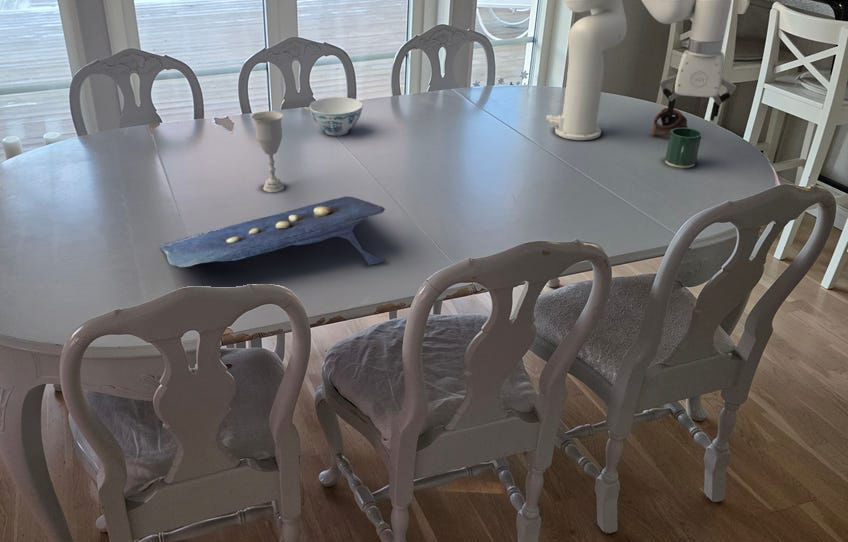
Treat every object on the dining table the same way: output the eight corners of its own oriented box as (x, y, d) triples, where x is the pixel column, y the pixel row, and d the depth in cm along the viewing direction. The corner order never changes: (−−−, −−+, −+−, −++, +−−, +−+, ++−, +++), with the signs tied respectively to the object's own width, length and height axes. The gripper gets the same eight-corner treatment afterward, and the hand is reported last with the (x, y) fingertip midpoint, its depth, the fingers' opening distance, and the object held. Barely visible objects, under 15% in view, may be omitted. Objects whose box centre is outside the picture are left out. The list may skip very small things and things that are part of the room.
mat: (187, 319, 146) (171, 260, 143) (167, 288, 171) (153, 237, 167) (403, 256, 160) (393, 201, 156) (355, 235, 184) (346, 187, 181)
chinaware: (372, 128, 227) (372, 102, 223) (344, 144, 216) (343, 117, 212) (330, 119, 234) (329, 94, 229) (300, 134, 223) (298, 108, 219)
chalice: (292, 184, 193) (287, 113, 184) (281, 195, 188) (275, 122, 178) (265, 180, 195) (259, 110, 186) (253, 191, 190) (246, 119, 180)
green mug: (665, 155, 205) (671, 126, 201) (695, 159, 203) (702, 129, 199) (663, 169, 197) (669, 139, 193) (694, 173, 195) (701, 142, 191)
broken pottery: (695, 141, 215) (691, 119, 210) (661, 156, 218) (656, 134, 212) (679, 117, 224) (674, 95, 218) (646, 131, 226) (641, 109, 220)
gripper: (665, 48, 185) (653, 118, 194) (744, 52, 180) (728, 125, 189) (667, 41, 191) (655, 110, 200) (744, 45, 186) (728, 115, 195)
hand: (691, 117), depth 195 cm, fingers open, 9 cm apart
